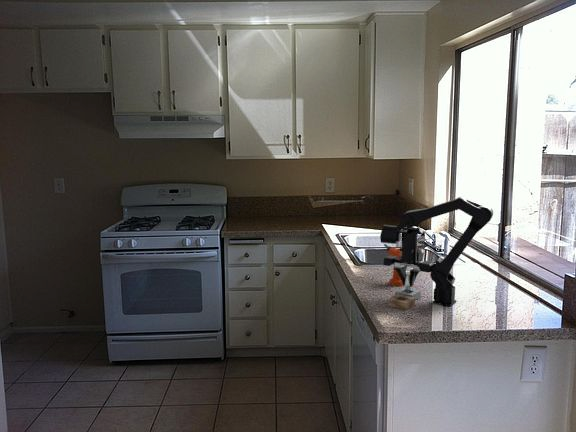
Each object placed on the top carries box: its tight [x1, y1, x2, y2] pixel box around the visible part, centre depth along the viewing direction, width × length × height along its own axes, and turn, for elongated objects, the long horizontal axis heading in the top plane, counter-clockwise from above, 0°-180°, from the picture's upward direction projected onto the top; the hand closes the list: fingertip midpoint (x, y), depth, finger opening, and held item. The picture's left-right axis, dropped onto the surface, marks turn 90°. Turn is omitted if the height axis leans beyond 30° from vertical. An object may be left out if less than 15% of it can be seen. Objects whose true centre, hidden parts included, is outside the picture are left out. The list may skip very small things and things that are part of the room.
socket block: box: [387, 294, 416, 311], centre depth 184 cm, size 7×7×2 cm
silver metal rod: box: [404, 273, 412, 293], centre depth 191 cm, size 2×2×8 cm
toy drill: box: [383, 243, 404, 287], centre depth 213 cm, size 5×19×15 cm, turn 12°
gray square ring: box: [394, 287, 422, 301], centre depth 192 cm, size 7×7×2 cm
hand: (408, 286), depth 191 cm, fingers closed on silver metal rod, 2 cm apart
